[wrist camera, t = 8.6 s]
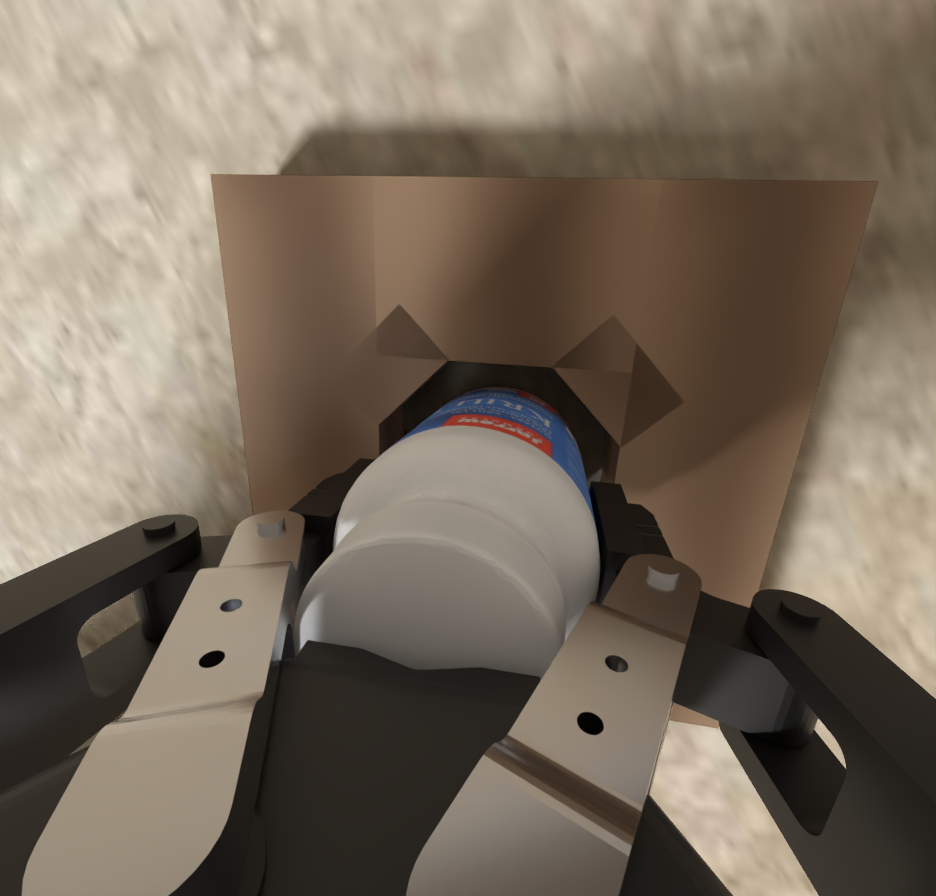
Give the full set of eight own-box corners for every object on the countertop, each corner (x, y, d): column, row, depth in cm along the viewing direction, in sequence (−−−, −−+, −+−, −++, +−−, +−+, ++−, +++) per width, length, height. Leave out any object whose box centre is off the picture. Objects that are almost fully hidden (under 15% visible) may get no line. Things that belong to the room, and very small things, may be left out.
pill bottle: (564, 367, 15) (599, 447, 5) (592, 524, 16) (660, 812, 7) (401, 401, 16) (197, 516, 7) (439, 546, 17) (311, 817, 8)
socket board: (302, 611, 20) (270, 653, 18) (264, 192, 15) (210, 174, 12) (696, 670, 18) (718, 728, 16) (816, 200, 13) (878, 181, 10)
